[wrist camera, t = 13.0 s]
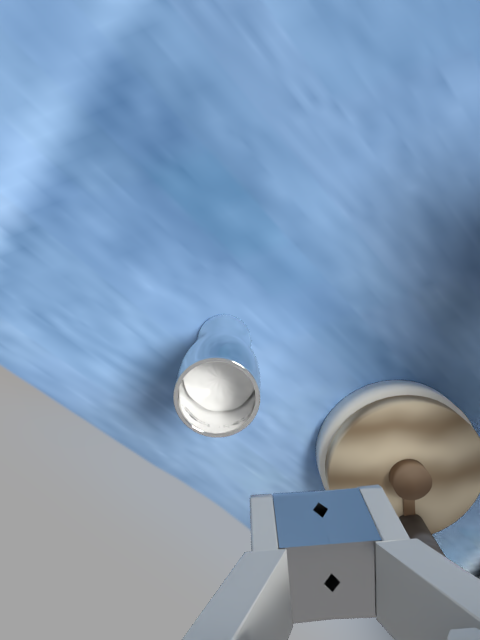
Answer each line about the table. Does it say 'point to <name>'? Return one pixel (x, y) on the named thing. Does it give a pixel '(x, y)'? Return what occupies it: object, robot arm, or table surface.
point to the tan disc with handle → (410, 461)
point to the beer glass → (219, 379)
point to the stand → (364, 398)
